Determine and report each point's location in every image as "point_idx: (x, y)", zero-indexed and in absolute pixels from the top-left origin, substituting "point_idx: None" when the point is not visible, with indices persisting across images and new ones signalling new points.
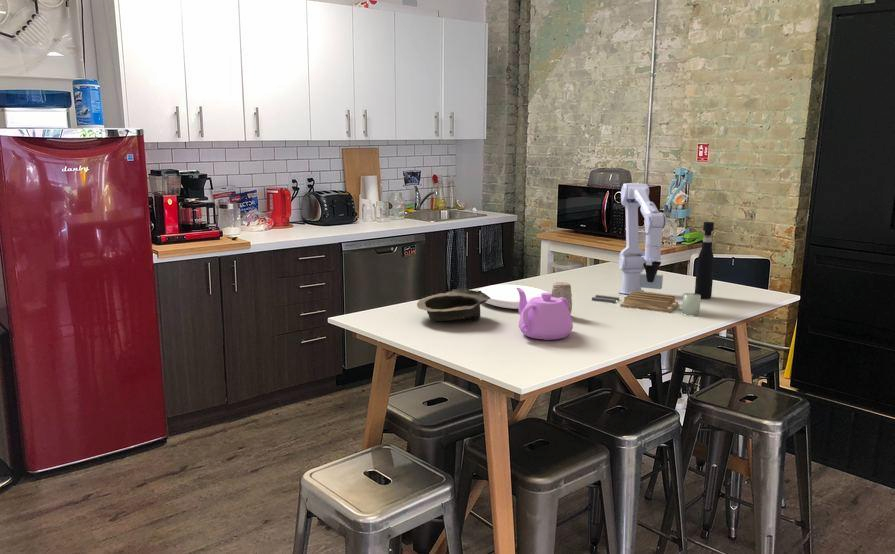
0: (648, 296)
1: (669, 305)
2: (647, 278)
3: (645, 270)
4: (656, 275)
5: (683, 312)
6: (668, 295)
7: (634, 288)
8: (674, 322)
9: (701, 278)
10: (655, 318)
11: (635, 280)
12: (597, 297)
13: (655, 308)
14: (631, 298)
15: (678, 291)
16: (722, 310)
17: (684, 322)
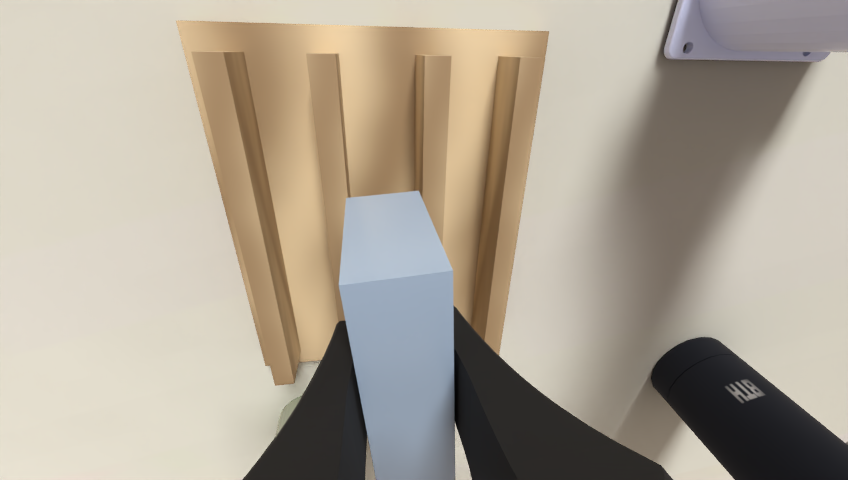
0: None
1: None
2: (328, 354)
3: (263, 455)
4: (387, 455)
5: (285, 412)
6: (485, 332)
7: (740, 12)
8: (67, 428)
9: (749, 464)
10: (54, 343)
11: (830, 9)
12: None
13: (249, 298)
14: (213, 133)
15: (813, 250)
16: (463, 470)
17: (116, 452)
